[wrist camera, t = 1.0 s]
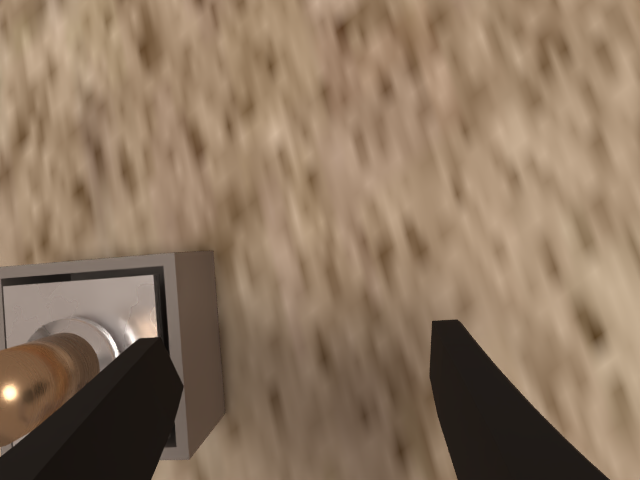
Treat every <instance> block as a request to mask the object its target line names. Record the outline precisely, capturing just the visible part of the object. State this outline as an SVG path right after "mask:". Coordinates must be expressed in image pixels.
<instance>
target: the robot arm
mask: <svg viewBox="0 0 640 480" xmlns="http://www.w3.org/2000/svg"><path fill="white" fill-rule="evenodd" d="M430 381H431V386H432V391H433V395H434V400H435V405H436V410H437V414H438V418H439V421H440V425H441V428H442V431H443V434H444V437H445V440H446V444H447V447H448V450H449V453H450V456H451V459H452V463H453V466H454V469H455V472H456V475H457V478H458V480H610V479H608V478H607V477H606V476H605V475H604V474H603V473H602V472H601V471H600V470H598V469H597V468H596V467H595V466H594V465H593V464H592V463H591V462H590V461H589V460H587V459H586V458H585V457H584V456H583V455H582V454H581V453H580V452H579V451H578V450H577V449H576V448H575V447H574V446H573V445H572V444H571V443H569V442H568V441H567V440H566V439H565V438H564V437H563V436H562V435H561V434H560V433H559V432H558V431H557V430H556V429H555V428H554V427H553V426H552V425H551V424H550V423H549V422H548V421H547V420H546V419H545V418H544V417H543V416H542V415H541V414H540V413H539V412H538V411H537V410H536V409H535V408H534V406H533V405H532V404H531V403H530V402H529V401H528V400H527V399H526V398H525V397H524V396H523V395H522V394H521V393H520V392H519V390H518V389H517V388H516V387H515V386H514V385H513V384H512V383H511V382H510V381H509V380H508V378H507V377H506V376H505V375H504V374H503V373H502V372H501V371H500V369H499V368H498V367H497V366H496V365H495V364H494V363H493V361H492V360H491V359H490V358H489V357H488V355H487V354H486V353H485V352H484V351H483V350H482V348H481V347H480V346H479V345H478V343H477V342H476V341H475V340H474V338H473V337H472V336H471V335H470V333H469V332H468V331H467V330H466V328H465V327H464V326H463V324H462V323H461V322H460V321H458V320H441V321H432V335H431V355H430ZM183 388H184V385H183V383H182V381H181V379H180V377H179V375H178V373H177V371H176V369H175V367H174V364H173V362H172V360H171V358H170V356H169V354H168V352H167V350H166V348H165V345H164V343H163V341H162V339H161V337H150V338H139V339H138V340H136V341H135V342H134V343H133V344H132V345H130V346H129V347H128V348H127V349H126V350H124V351H123V352H122V353H121V354H120V355H119V356H118V357H116V358H115V359H114V360H113V361H112V362H111V363H110V364H109V365H107V366H106V367H105V368H104V369H103V370H102V371H101V372H100V373H99V374H97V375H96V376H95V377H94V378H93V379H92V380H91V381H90V382H88V383H87V384H86V385H85V386H84V387H83V388H82V389H80V390H79V391H78V392H77V393H76V394H75V395H74V396H73V397H71V398H70V399H69V400H68V401H67V402H66V403H65V404H63V405H62V406H61V407H60V408H59V409H58V410H57V411H55V412H54V413H53V414H52V415H51V416H49V417H48V418H47V419H46V420H45V421H43V422H42V423H41V424H40V425H39V426H37V427H36V428H35V429H34V430H33V431H31V432H30V433H29V434H28V435H27V436H25V437H24V438H23V439H22V440H21V441H19V442H18V443H17V444H16V445H15V446H13V447H12V448H11V449H10V450H8V451H7V452H6V453H5V454H3V455H2V456H1V457H0V480H151V479H152V476H153V474H154V471H155V469H156V467H157V464H158V462H159V459H160V457H161V455H162V452H163V450H164V447H165V445H166V442H167V440H168V437H169V435H170V432H171V430H172V427H173V425H174V421H175V418H176V414H177V411H178V408H179V404H180V400H181V396H182V392H183Z"/></svg>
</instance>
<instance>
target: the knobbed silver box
mask: <svg viewBox="0 0 640 480" xmlns="http://www.w3.org/2000/svg"><path fill="white" fill-rule="evenodd" d="M154 274H159V282H160V296H161V310H162V324H163V338H164V345H165V348H166V350H167V352H168V354H169V356H170V358H171V360H172V362H173V364H174V367H175V369H176V371H177V373H178V375H179V377H180V379H181V381H182V383H183V385H184V388H183V392H182V396H181V400H180V404H179V408H178V411H177V414H176V418H175V421H174V425H173V427H172V430H171V432H170V435H171V437H170V438H169V439H168V440H167V442H166V445H165V447H164V450H163V452H162V455H161V457H160V459H159V460H189V459H190V458H191V457H192V456H193V454H194V453H195V452H196V450H197V449H198V448H199V446H200V445H201V444H202V443H203V441H204V440H205V439H206V437H207V436H208V435H209V434H210V432H211V431H212V430H213V428H214V427H215V426H216V425H217V423H218V422H219V421H220V419H221V418H222V417H223V415H224V414H225V402H224V389H223V375H222V362H221V348H220V335H219V322H218V308H217V295H216V282H215V268H214V255H213V251H197V252H176V253H163V254H151V255H139V256H127V257H115V258H103V259H90V260H78V261H66V262H54V263H42V264H30V265H18V266H6V267H0V350H4V349H7V341H6V325H5V309H4V294H3V286H11V285H24V284H37V283H50V282H63V281H76V280H89V279H102V278H115V277H128V276H141V275H154ZM12 447H13V442H12V443H11V444H8V445H6V446H3V447H1V456H2V455H3V454H5V453H6V452H7V451H8V450H10V449H11V448H12Z"/></svg>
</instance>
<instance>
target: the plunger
mask: <svg viewBox="0 0 640 480" xmlns="http://www.w3.org/2000/svg"><path fill="white" fill-rule="evenodd" d="M3 294H4V309H5V325H6V341H7V349H4V350H0V447H3V446H6V445H8V444H11V443H12V442H13V446H15V445H16V444H17V443H18V442H19V441H21V440H22V439H23V438H24V437H25V436H27V435H28V434H29V433H30V432H31V431H33V430H34V429H35V428H36V427H37V426H39V425H40V424H41V423H42V422H43V421H45V420H46V419H47V418H48V417H49V416H51V415H52V414H53V413H54V412H55V411H57V410H58V409H59V408H60V407H61V406H62V405H63V404H65V403H66V402H67V401H68V400H69V399H70V398H71V397H73V396H74V395H75V394H76V393H77V392H78V391H79V390H80V389H82V388H83V387H84V386H85V385H86V384H87V383H88V382H90V381H91V380H92V379H93V378H94V377H95V376H96V375H97V374H99V373H100V372H101V371H102V370H103V369H104V368H105V367H106V366H107V365H109V364H110V363H111V362H112V361H113V360H114V359H115V358H116V357H118V356H119V355H120V354H121V353H122V352H123V351H124V350H126V349H127V348H128V347H129V346H130V345H132V344H133V343H134V342H135V341H136V340H138V339H139V338H150V337H161V339H162V341H163V343H164V338H163V324H162V310H161V296H160V282H159V274H154V275H141V276H128V277H115V278H102V279H89V280H76V281H63V282H50V283H37V284H24V285H11V286H3ZM170 437H171V435H169V437H168V439H169V438H170Z"/></svg>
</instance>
